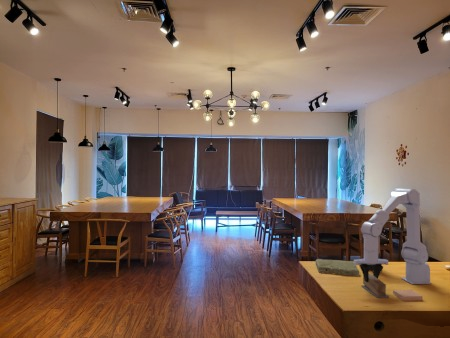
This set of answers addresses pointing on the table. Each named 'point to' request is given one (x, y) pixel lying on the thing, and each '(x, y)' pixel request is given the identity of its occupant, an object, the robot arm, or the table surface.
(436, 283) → the table surface
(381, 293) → the brown wooden plank
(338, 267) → the decorative tile
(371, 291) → the mat
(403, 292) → the tile
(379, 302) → the table surface
